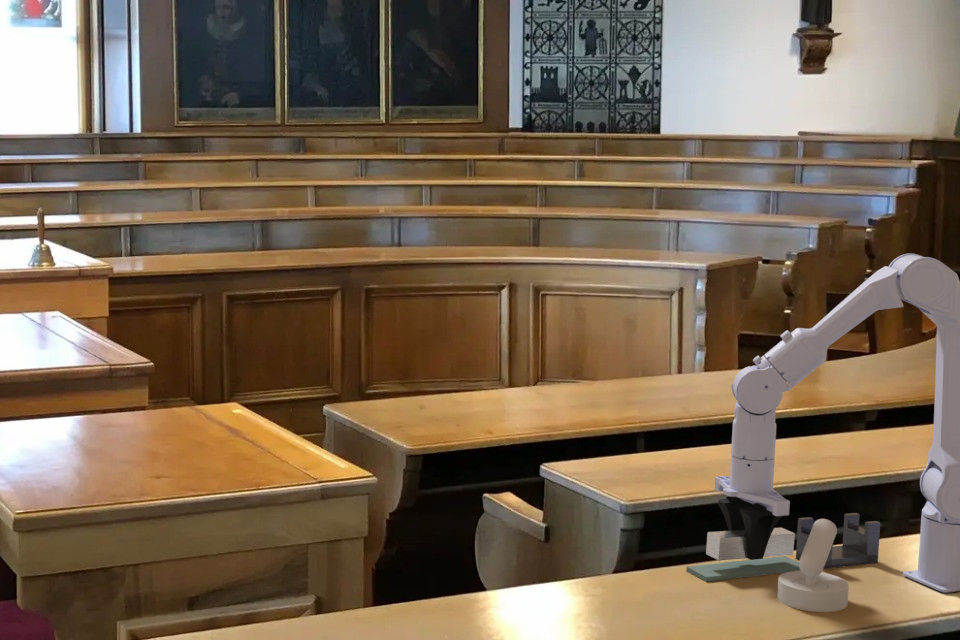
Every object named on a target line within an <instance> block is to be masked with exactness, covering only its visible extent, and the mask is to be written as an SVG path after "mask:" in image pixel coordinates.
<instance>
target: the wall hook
mask: <svg viewBox="0 0 960 640" xmlns="http://www.w3.org/2000/svg"><path fill="white" fill-rule="evenodd" d="M837 533H838V528H837V526H836V523H834V522H832V520H829V519H826V518H819V519H816V520H815V521H813V527H812V530H811V532H810V535H809V537H808V540H807V542H806V545H805V547H804V550H803V552H802V555H801V558H800V560H798V562H799V568H800V570H801V571H791V572H786V573H780V575H779V576H778V578H777V580H778V581H777V595H776V596H777V597H776V598H777V600H778V601H779V602H780V603H782V604H783V605H786V606H787V607H790V608H793V609H797V610H801V611H806V612H807V611H808V612H817V613H832V612H833V613H834V612H838V610H839V611H842V610H844V609H846V608H847V607H848V604H849V603H848V601H849V600H848V599H849V583H848V582H847V581H846V580H845V579H843V578H841V577H840V576H837V575H833V574H830V573H826V572H823V571H824V569H823V568H824V566H825V563H826V560H827V558H828V555H829V552H830V550H831V547H832V546H833V545H834V541H835V539H836V536H837ZM832 544H833V545H832ZM846 606H847V607H846ZM845 607H846V608H845ZM841 609H842V610H841Z"/></svg>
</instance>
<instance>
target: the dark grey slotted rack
mask: <svg viewBox="0 0 960 640" xmlns="http://www.w3.org/2000/svg"><path fill="white" fill-rule="evenodd" d="M813 524H814V518H813V517H809V516H808V517H807V516H806V517H799V518H798V519H797V533H796V535H797V536H796V549H795V559H796V560H798V561H799V560H800V558H801V555H802V552H803V550H804V547H805V545H806V542H807V540H808V537H809V535H810V532H811V530H812V527H813ZM842 532H843V533H842V545H836V546H834V543H833V544H832V547H831V550H830V552H829V555H828V558H827V560H826V563H825V566H824V568H823V570H826V569H834V568H833V567H836V568H844V567H843V566H845V567H851V566H863V565H869V564H870V565H871V564H878V563H879V550H880V549H879V547H880V535H881V534H880V533H881V521H877V520H873V521H872V520H871V521H865V522H864V528H863V527H861V526H860V513H857V512H850V513H849V512H848V513H844V517H843V531H842Z"/></svg>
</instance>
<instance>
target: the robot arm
mask: <svg viewBox="0 0 960 640" xmlns="http://www.w3.org/2000/svg"><path fill="white" fill-rule="evenodd" d="M902 301H903V302H905V303H907V304H910V305H913V306H914V307H916V308H917V309H919V311H921V313H923V314H924V316H926V317H927V318H928V319H930V321H931V322H933V324H934V325H935V326H936V349H935V350H936V352H935V378H934V405H933V406H934V407H933V409H934V411H933V412H934V413H933V435H932V437H933V438H932V444H931V446H930V448H929V450H928V452H927V463H926V466H925V468H924V469H923V471H922V472H921V475H920V478H919V487H920V492H921V493H922V495H923V497H924V498H925V499H926V503H925V504H924V506H923V508H922V509H921V518H920V519H921V520H920V532H919V533H920V534H919V547H918V563H917V569H916V570H915V569H914V570H906V571H903V572H902V575H903V576H904V577H907V578H908V579H911V580H913V581H915V582H917V583H920V584H922V585H925V586H928V587H930V588H932V589H934V590H936V591H939V592H941V593H944V594H945V593H954V592H960V279H959V276H958V274H957V272H955V271H954V270H953V269H951V268H950V267H949V266H948V265H946V264H945V263H943V262H941V260H938V259H936V258H933V257H929V256H926V257H925V256H922V255H920V254H916V253H904V254H902V255H899V256H897V257H896V258H894V259H893V260H892V261H891V262H890V263H889V264H888V266H886V265H885V266H883V267H882V268H880V269H878V270H876V271H875V272H874V273H873V274H872V275H870V276H869V277H868V278H867V279H866V280H864V281H863V282H862V283H861V284H860V285H859V286H858V287H857V288H856V289H854V290H853V291H852V292H851V293H850V294H849V295H847V296H846V297H845V298H844V299H843V300H841V302H839V304H837V305H836V306H835V307H834V308H832V310H830V311H829V313H827V314H826V315H825V316H824V317H823V318H822V319H820V320H819V321H818V322H817V323H816V324H815V325H814V326H812V327H810V328H805V327H804V328H803V327H797V328H795V329H794V330H793V331H791V332H790V330H785V331H784V332H783V333H781V334H780V338H781V339H782V340H780V341H779V342H778V343H777V344H776V345H774V346H772V348H770V349H769V351H767V352H765V354H764V355H762V356H761V357H760V355H757V356H755V357H754V358H753V359H752V362H753V363H754V364H755V365H752V366H751V365H749V366H746V367H744V368H742V369H741V370H740V371H739V372H738V373H736V375H735V377H734V380H733V383H732V384H731V392H732V394H733V396H734V399H735V400H736V402H735V406H734V409H733V416H734V419H733V421H732V433H731V434H732V435H731V449H730V450H731V451H730V454H731V455H730V470H729V471H730V474H729V476H728V475H720V476H715V477H714V491H716V492H719V493H721V492H722V494H723V495H725V497H726V498H719V499H718V501H717V505H718V506H719V508H720V510H721V512H722V514H723V517H724V520H725V523H726V527H727V531H735V530H745V532H746V551H747V557H748V558H747V560H755V559H763V558H764V557H763V556H764V553H765V550H766V547H767V544H768V541H769V538H770V536H771V533H772V531H773V529H774V528H776V526H777V524H778V522H779V521H780V520H781V518H782V517H784V516H789V515H790V504H791V501H790V500H789V499H786V498H785V497H784V496H782V495H781V494H780V493H779V492H778V491H776V490H775V489H774V477H775V476H774V475H775V455H776V439H777V423H776V415H777V414H776V412H777V408H778V407H779V405H781V404H780V403H781V401H782V399H783V395H784V394H783V393H784V392H788V391H789V392H790V391H791V390H792V389H794V387H795V386H797V385H798V384H799V383H800V382H802V381H803V380H804V379H806V378H807V377H808V376H809V375H810V374H812V373H813V372H814V371H816V370H817V369H818V368H819V367H820V366H822V365H823V364H824V363H825V362H826V360H827V353H828V349H829V346H830V347H831V345H832V344H834V343H835V342H836V341H838V340H839V339H840V338H842V337H843V336H844V335H846V334H848V332H850V331H851V330H852V329H854V328H855V327H857V326H858V325H859V324H861V323H862V322H863V321H865V320H866V319H867V318H869V317H870V316H871V315H873V314H874V313H875V312H877V311H881V310H888V309H889V310H890V309H899V308H904V304H903V302H902Z"/></svg>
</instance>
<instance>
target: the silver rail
mask: <svg viewBox="0 0 960 640" xmlns="http://www.w3.org/2000/svg"><path fill="white" fill-rule="evenodd" d="M706 535H707V536H706V547H705V548H706V549H705V550H706V551H705V554H706V555H707V556H709V557H711V558H714V560H716V561H728V560H743V559H744V560H745V559H748V557H747V551H746V532H745V530H735V531H728V530H723V531H722V530H720V531H708V532H707V534H706ZM795 537H796V535H795V532H793V531H790V530H788V529H786V528H783V527H775V528H774V529H773V531H772V533H771V536H770V538H769V541H768V544H767V547H766V550H765V553H764V556H763V558H772V557H781V556H792V555H794V550H795V549H794V547H795Z"/></svg>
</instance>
